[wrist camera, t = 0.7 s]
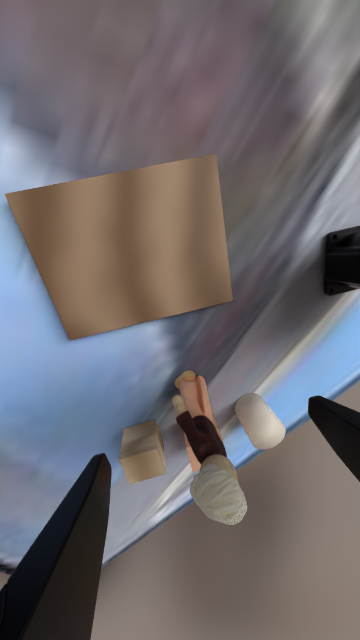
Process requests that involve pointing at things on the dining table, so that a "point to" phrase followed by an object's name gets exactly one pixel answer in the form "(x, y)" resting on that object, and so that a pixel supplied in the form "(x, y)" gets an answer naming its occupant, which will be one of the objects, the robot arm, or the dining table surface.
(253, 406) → the off-white cylinder
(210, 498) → the grandmother figurine
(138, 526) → the dining table surface
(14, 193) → the walnut board
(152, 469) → the beech block
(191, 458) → the terracotta block
